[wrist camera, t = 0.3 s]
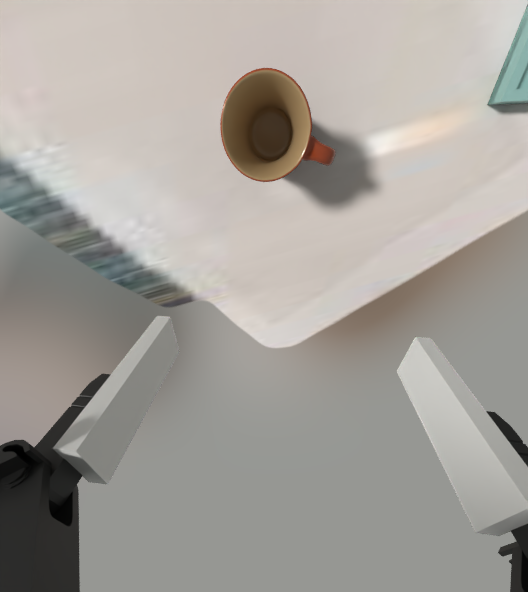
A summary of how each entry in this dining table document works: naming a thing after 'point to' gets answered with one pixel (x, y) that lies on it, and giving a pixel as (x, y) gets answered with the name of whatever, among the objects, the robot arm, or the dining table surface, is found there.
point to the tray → (514, 70)
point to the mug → (269, 126)
